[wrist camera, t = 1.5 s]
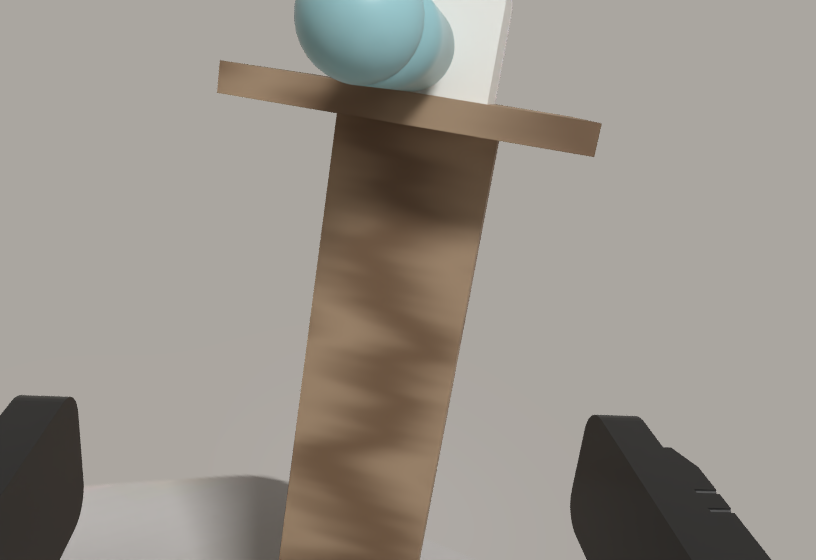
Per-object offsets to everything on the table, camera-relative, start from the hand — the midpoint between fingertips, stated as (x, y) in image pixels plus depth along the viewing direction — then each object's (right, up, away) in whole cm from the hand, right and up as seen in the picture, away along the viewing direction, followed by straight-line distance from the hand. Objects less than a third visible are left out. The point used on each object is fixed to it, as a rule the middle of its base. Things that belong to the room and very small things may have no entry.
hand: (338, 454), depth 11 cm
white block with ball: (+1, +9, +13) cm, 16 cm away
